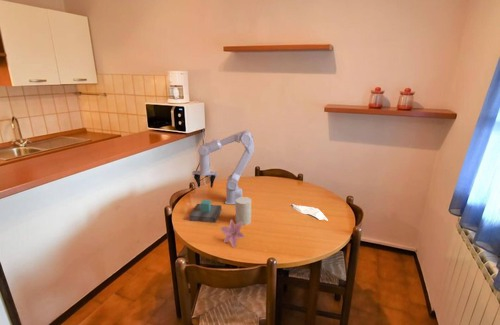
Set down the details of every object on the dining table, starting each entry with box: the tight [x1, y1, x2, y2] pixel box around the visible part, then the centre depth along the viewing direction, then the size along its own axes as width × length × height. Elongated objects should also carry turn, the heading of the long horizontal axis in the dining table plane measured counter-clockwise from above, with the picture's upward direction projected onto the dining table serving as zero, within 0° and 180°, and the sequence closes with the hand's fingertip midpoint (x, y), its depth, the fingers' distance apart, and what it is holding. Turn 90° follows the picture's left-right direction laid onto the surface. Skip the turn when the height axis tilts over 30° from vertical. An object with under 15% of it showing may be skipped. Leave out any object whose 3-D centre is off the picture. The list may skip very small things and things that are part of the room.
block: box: [199, 199, 212, 212], centre depth 149 cm, size 4×4×5 cm
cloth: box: [290, 203, 329, 222], centre depth 156 cm, size 26×14×2 cm, turn 32°
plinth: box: [188, 203, 223, 224], centre depth 150 cm, size 14×14×3 cm
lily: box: [220, 219, 245, 249], centre depth 127 cm, size 12×12×10 cm
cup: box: [235, 196, 252, 226], centre depth 144 cm, size 8×8×12 cm
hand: (205, 186), depth 165 cm, fingers open, 7 cm apart
